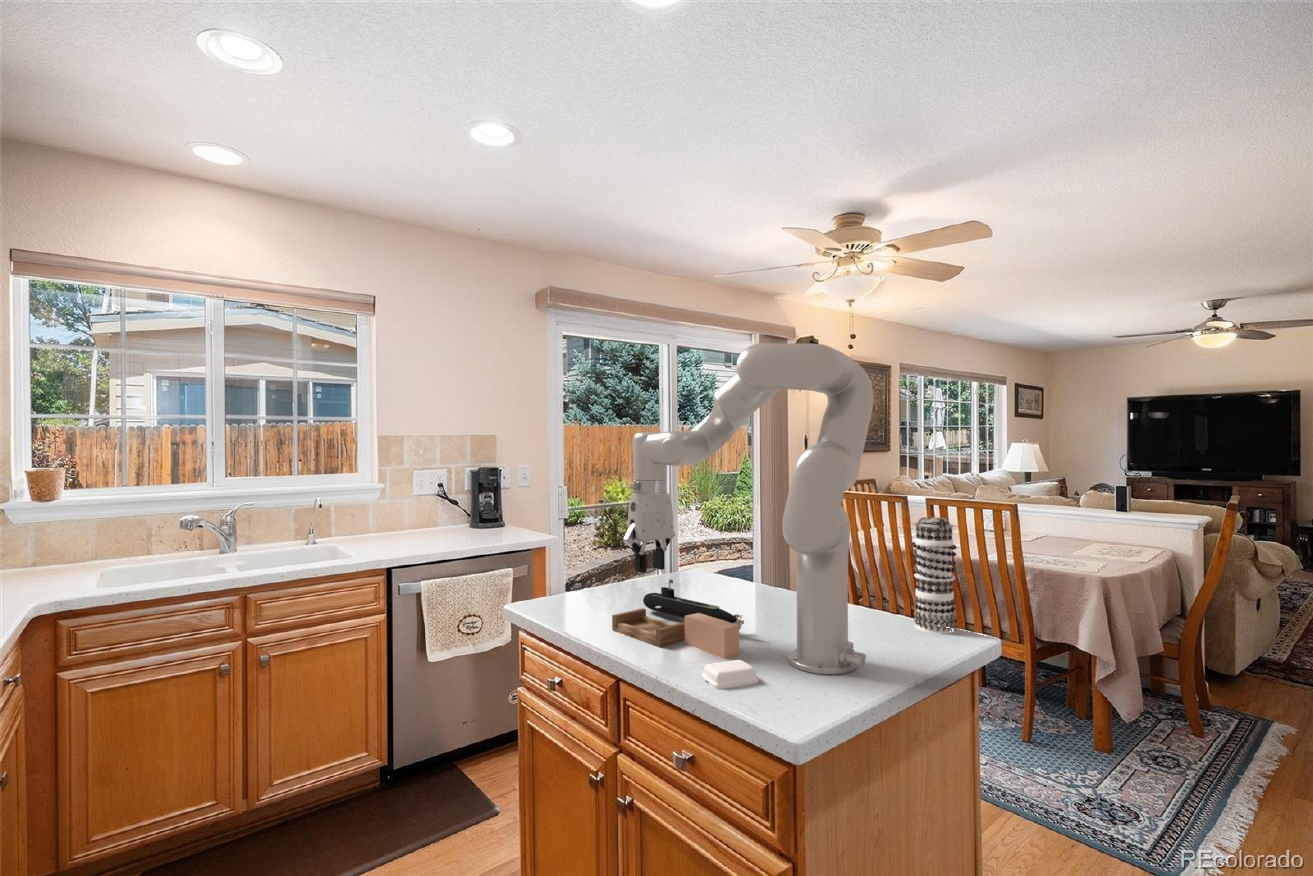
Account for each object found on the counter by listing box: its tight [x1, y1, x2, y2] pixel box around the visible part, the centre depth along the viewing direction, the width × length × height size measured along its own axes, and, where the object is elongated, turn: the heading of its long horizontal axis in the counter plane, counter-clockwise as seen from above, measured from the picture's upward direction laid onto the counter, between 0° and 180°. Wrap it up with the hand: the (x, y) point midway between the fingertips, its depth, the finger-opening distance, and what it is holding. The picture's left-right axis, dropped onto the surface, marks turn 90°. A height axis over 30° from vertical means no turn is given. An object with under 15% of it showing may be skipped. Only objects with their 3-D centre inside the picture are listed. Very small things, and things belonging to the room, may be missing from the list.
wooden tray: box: [611, 607, 685, 648], centre depth 140 cm, size 16×9×4 cm, turn 42°
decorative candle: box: [911, 516, 958, 634], centre depth 143 cm, size 9×9×25 cm
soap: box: [701, 659, 760, 690], centre depth 113 cm, size 9×7×3 cm
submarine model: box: [642, 578, 745, 630], centre depth 148 cm, size 31×7×10 cm, turn 43°
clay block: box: [684, 613, 740, 660], centre depth 130 cm, size 12×4×6 cm, turn 38°
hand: (649, 569), depth 140 cm, fingers open, 4 cm apart
